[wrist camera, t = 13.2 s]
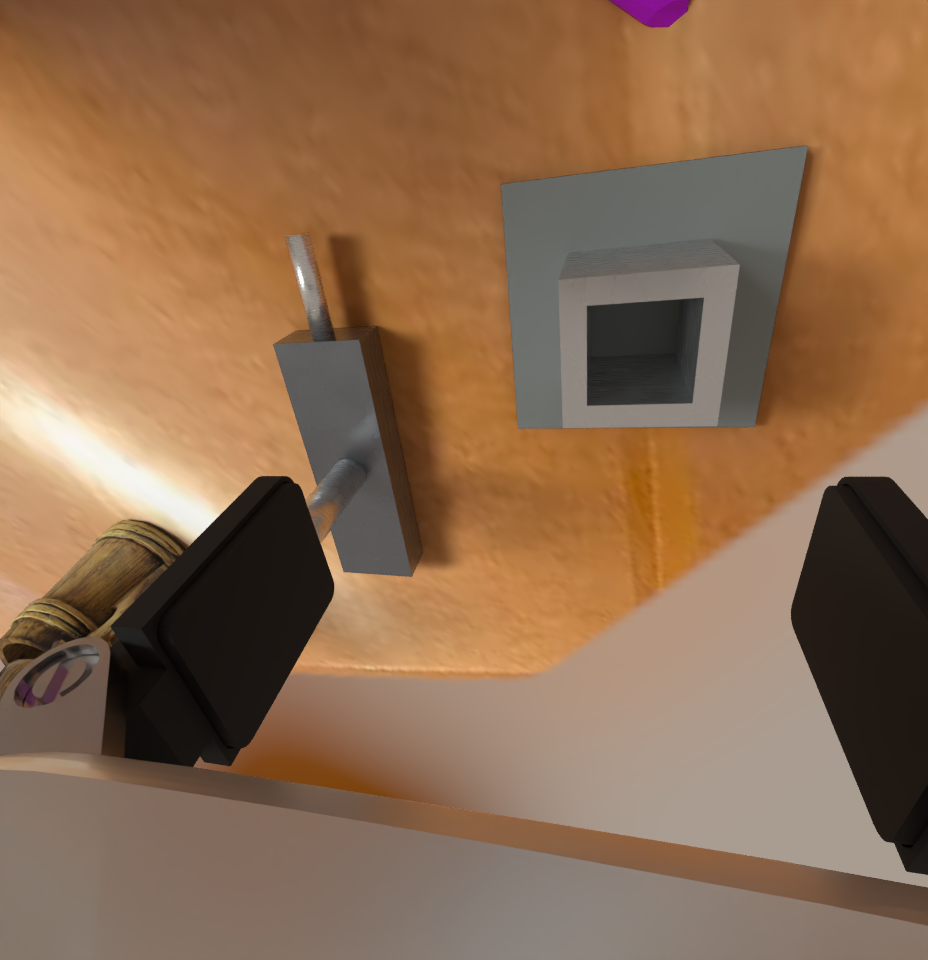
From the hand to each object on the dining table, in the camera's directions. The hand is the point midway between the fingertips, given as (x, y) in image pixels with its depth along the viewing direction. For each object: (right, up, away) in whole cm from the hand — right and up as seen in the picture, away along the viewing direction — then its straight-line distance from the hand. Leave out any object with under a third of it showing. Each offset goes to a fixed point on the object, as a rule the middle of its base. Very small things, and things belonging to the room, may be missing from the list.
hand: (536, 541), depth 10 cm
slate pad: (+7, +9, +15) cm, 19 cm away
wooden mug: (-26, -5, +34) cm, 43 cm away
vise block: (-8, +5, +22) cm, 24 cm away
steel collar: (+7, +9, +15) cm, 19 cm away
